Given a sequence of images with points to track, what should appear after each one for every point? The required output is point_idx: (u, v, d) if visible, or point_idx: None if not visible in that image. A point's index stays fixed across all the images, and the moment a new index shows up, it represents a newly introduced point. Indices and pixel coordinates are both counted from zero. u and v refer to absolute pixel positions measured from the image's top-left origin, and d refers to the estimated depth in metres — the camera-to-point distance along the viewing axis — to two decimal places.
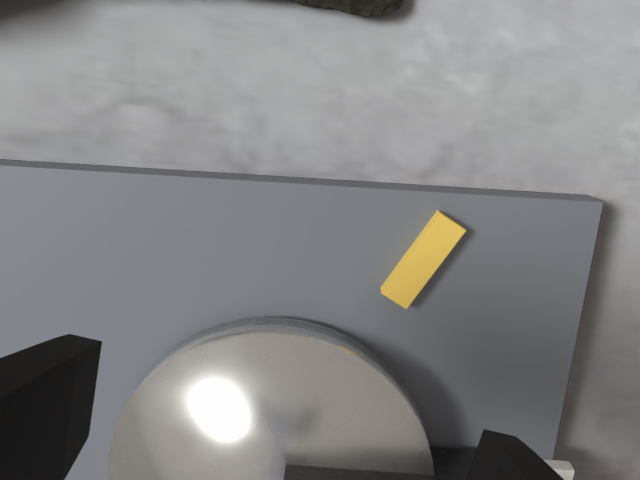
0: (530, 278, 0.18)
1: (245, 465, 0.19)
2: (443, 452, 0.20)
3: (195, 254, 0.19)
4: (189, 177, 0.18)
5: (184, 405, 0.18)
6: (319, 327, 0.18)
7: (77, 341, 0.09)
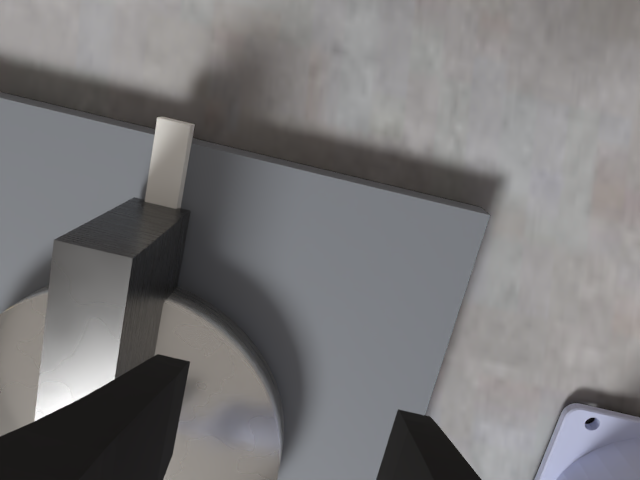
0: None
1: None
2: None
3: None
4: None
5: None
6: None
7: (169, 362, 0.09)
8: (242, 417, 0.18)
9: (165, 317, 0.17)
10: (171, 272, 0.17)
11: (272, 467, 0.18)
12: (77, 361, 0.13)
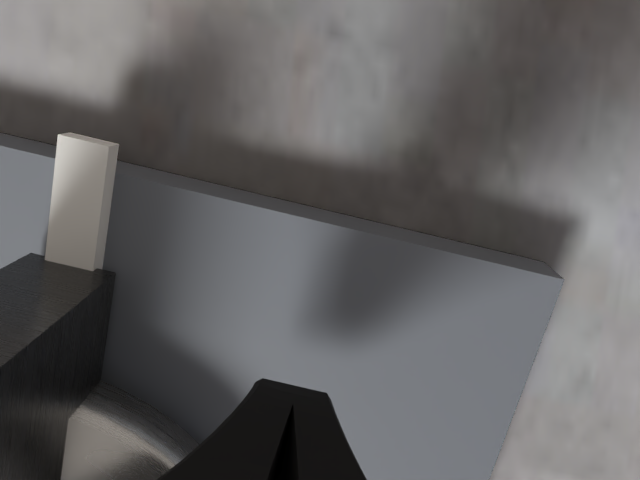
0: None
1: None
2: None
3: None
4: None
5: None
6: None
7: (278, 387, 0.10)
8: None
9: (72, 439, 0.11)
10: (82, 370, 0.11)
11: None
12: None
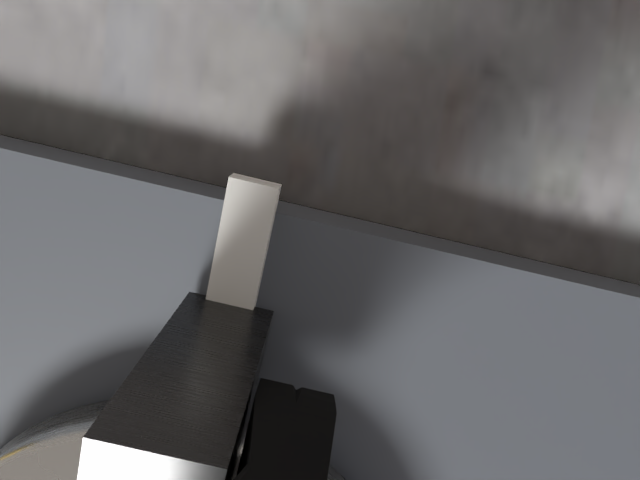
0: None
1: None
2: None
3: None
4: None
5: None
6: None
7: (319, 396, 0.10)
8: None
9: None
10: (249, 410, 0.11)
11: None
12: None
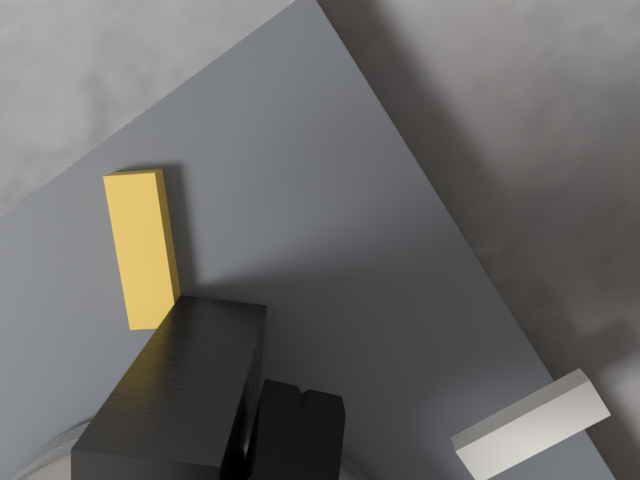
0: (308, 169, 0.11)
1: None
2: None
3: None
4: None
5: None
6: None
7: (327, 398, 0.10)
8: None
9: None
10: (253, 408, 0.11)
11: None
12: None
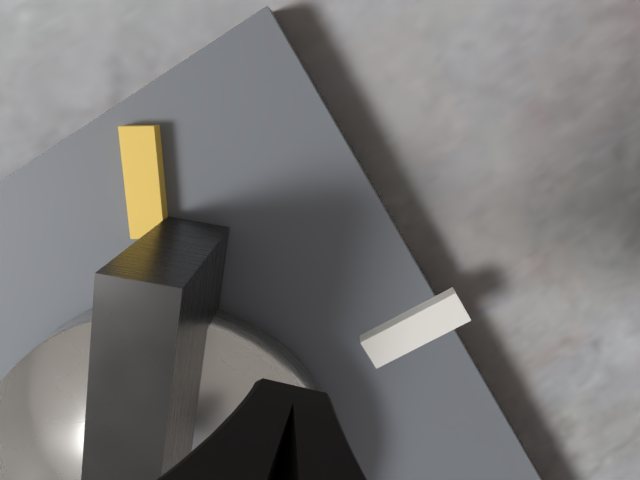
0: (261, 130, 0.16)
1: None
2: None
3: None
4: None
5: None
6: None
7: (278, 387, 0.10)
8: None
9: (210, 344, 0.16)
10: (214, 295, 0.15)
11: None
12: (125, 403, 0.12)
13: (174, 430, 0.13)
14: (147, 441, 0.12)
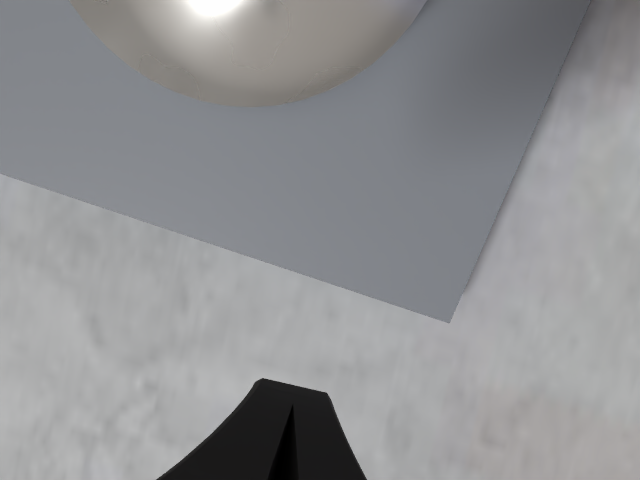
0: None
1: None
2: None
3: None
4: None
5: (211, 47, 0.15)
6: None
7: (277, 387, 0.10)
8: None
9: None
10: None
11: None
12: None
13: None
14: None
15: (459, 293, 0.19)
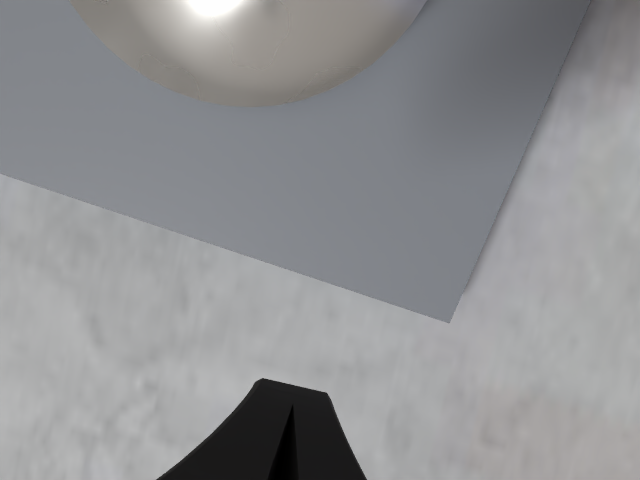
0: None
1: None
2: None
3: None
4: None
5: (211, 47, 0.15)
6: None
7: (277, 387, 0.10)
8: None
9: None
10: None
11: None
12: None
13: None
14: None
15: (459, 293, 0.19)
